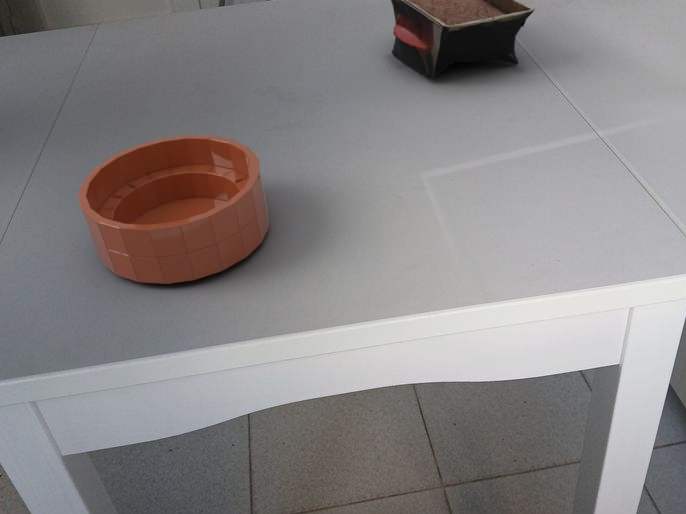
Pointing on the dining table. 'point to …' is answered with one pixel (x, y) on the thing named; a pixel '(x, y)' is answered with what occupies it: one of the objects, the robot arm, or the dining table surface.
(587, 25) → the dining table surface
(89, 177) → the bowl
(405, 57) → the black soil planter box
